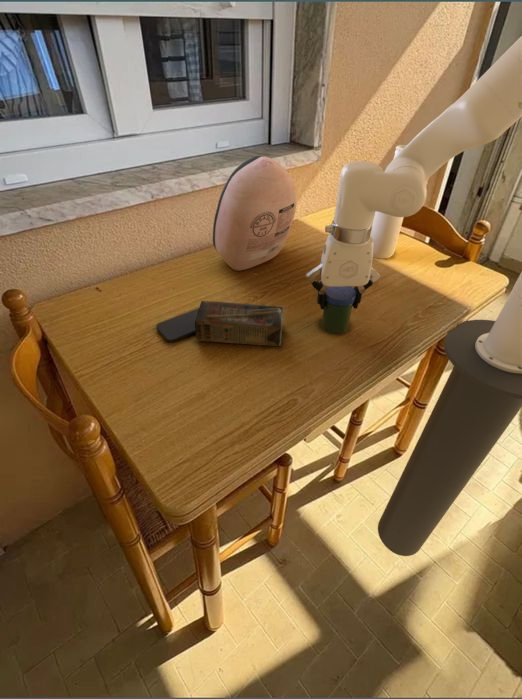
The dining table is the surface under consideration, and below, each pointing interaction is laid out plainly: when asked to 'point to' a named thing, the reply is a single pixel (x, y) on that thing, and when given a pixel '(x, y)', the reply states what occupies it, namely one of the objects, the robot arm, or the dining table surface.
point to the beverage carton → (239, 323)
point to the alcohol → (386, 229)
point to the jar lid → (340, 295)
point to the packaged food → (254, 213)
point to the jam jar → (336, 318)
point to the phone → (178, 326)
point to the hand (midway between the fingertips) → (337, 305)
